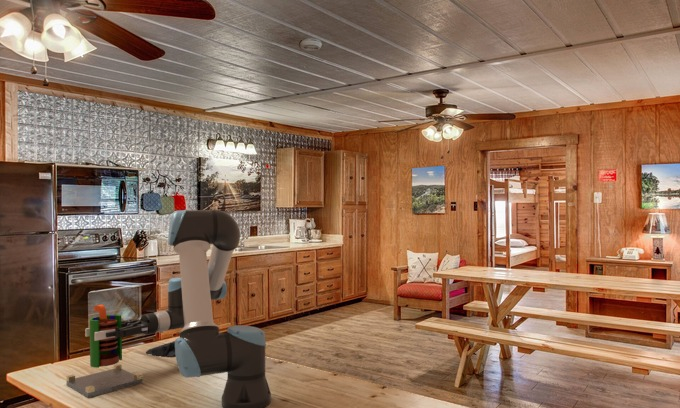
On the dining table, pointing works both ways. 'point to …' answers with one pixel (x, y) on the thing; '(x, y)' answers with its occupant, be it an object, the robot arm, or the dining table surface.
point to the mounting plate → (104, 381)
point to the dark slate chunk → (163, 350)
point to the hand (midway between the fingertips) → (90, 334)
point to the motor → (104, 349)
